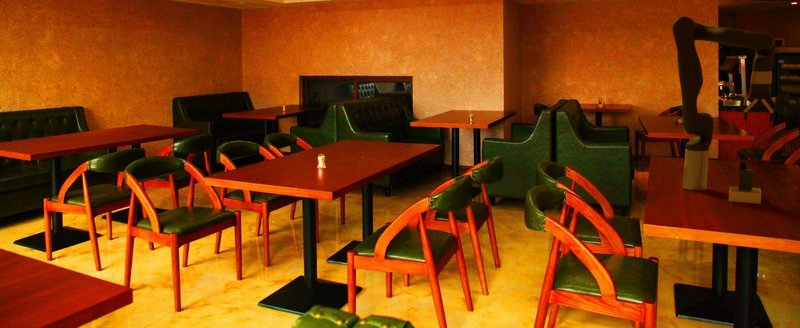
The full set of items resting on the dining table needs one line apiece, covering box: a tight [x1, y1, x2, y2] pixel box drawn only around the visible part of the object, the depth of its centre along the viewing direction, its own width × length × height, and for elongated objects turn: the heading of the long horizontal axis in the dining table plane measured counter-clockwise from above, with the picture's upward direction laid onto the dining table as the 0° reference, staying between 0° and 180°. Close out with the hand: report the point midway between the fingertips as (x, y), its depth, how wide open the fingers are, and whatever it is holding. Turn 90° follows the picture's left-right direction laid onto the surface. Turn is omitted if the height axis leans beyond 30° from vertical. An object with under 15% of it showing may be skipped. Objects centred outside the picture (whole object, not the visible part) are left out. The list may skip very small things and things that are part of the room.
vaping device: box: [738, 158, 754, 190], centre depth 249 cm, size 3×5×12 cm, turn 52°
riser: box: [728, 185, 762, 204], centre depth 251 cm, size 11×11×4 cm
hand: (757, 121), depth 260 cm, fingers open, 8 cm apart
